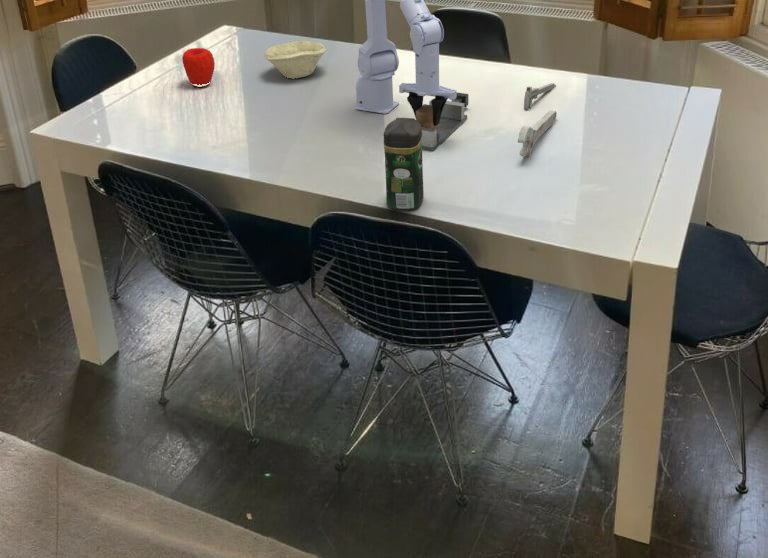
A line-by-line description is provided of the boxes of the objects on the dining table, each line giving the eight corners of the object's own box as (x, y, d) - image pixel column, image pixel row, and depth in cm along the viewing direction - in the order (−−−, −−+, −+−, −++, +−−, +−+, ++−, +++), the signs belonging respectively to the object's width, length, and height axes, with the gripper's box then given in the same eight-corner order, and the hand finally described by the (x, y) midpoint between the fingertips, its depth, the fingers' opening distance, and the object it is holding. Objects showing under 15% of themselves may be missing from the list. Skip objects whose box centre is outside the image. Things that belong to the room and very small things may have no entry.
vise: (400, 145, 229) (399, 126, 227) (435, 114, 246) (435, 96, 243) (433, 151, 226) (433, 132, 223) (467, 118, 242) (467, 100, 240)
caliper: (527, 111, 246) (528, 89, 242) (523, 111, 246) (524, 88, 243) (556, 87, 260) (557, 65, 257) (552, 86, 261) (553, 64, 258)
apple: (221, 80, 274) (216, 44, 269) (210, 91, 267) (205, 54, 261) (193, 79, 276) (188, 43, 270) (181, 89, 269) (175, 53, 263)
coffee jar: (391, 191, 208) (388, 113, 199) (426, 193, 207) (424, 114, 197) (382, 211, 200) (379, 131, 191) (418, 213, 199) (417, 132, 189)
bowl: (290, 98, 272) (251, 65, 270) (315, 73, 285) (279, 41, 284) (313, 66, 263) (273, 32, 261) (338, 42, 276) (300, 9, 274)
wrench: (555, 130, 241) (523, 164, 216) (548, 130, 242) (515, 163, 217) (558, 100, 238) (525, 131, 213) (551, 99, 238) (518, 130, 214)
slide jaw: (429, 116, 242) (429, 101, 240) (445, 101, 251) (445, 87, 249) (461, 120, 239) (461, 106, 237) (477, 105, 247) (477, 91, 245)
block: (416, 134, 231) (415, 111, 228) (424, 126, 234) (424, 104, 231) (431, 136, 229) (430, 113, 226) (439, 128, 233) (438, 106, 230)
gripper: (393, 72, 223) (394, 124, 231) (448, 79, 218) (448, 133, 225) (405, 62, 229) (406, 114, 236) (460, 69, 223) (459, 122, 230)
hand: (428, 123), depth 231 cm, fingers closed on block, 4 cm apart
